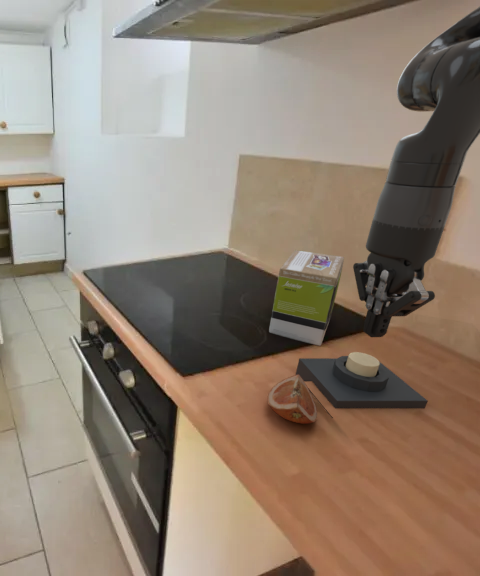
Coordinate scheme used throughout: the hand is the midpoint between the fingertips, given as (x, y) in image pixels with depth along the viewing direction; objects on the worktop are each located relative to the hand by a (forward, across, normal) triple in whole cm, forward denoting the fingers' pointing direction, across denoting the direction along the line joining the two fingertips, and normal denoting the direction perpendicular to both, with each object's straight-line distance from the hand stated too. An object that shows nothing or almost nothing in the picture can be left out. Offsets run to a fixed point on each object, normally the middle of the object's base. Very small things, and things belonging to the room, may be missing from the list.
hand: (372, 334), depth 56 cm
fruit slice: (+11, -5, +13) cm, 18 cm away
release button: (+6, 0, 0) cm, 6 cm away
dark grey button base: (+11, 0, 0) cm, 11 cm away
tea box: (+11, +23, -3) cm, 26 cm away
